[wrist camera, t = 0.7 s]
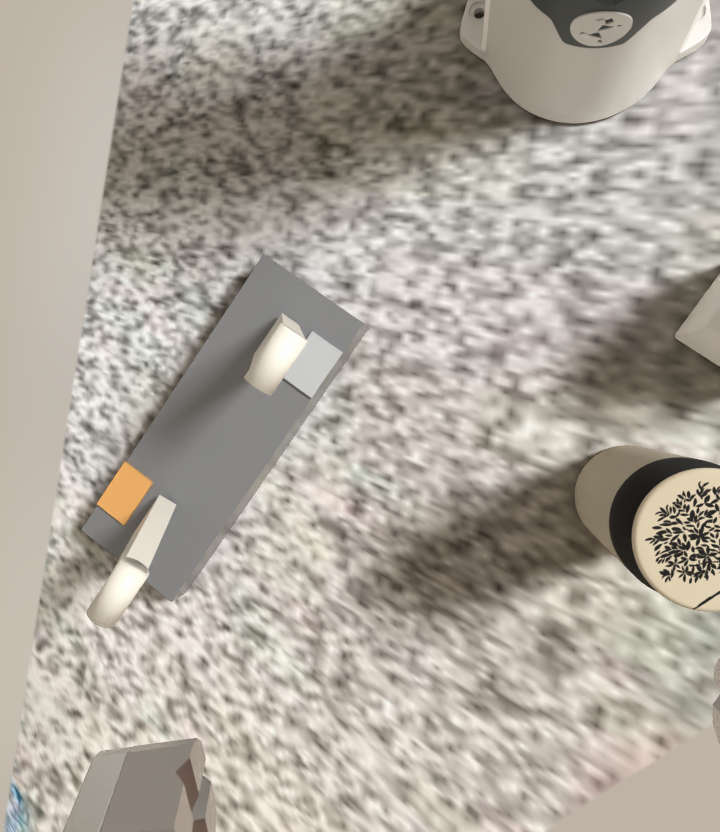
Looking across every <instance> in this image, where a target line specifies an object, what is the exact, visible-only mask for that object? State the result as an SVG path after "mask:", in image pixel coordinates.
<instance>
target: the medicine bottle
mask: <svg viewBox="0 0 720 832" xmlns="http://www.w3.org/2000/svg"><path fill="white" fill-rule="evenodd" d="M675 338H676V339H677V340H679V341H680V342H682V343H683V344H685V345H686V346H688V347H690V348H691V349H693V350H694V351H696V352H697V353H699V354H700V355H702V356H704V357H705V358H707V359H708V360H710V361H711V362H713V363H715V364H716V365H718V366H719V367H720V274H719V275H718V277H717V278H716V279H715V281H714V282H713V283H712V285H711V286H710V287H709V289H708V290H707V291H706V293H705V294H704V296H703V297H702V298H701V300H700V301H699V302H698V304H697V305H696V306H695V308H694V309H693V311H692V312H691V313H690V315H689V316H688V317H687V319H686V320H685V321H684V323H683V324H682V325H681V327H680V328H679V330H678V331H677V332H676V334H675Z"/></svg>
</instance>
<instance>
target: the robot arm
mask: <svg viewBox="0 0 720 832" xmlns="http://www.w3.org/2000/svg"><path fill="white" fill-rule="evenodd" d="M478 13H482V14H483V15H484V16H483V17H482V18H480V19H477V18H475V15H476V14H478ZM710 30H711V14H710V5H709V0H468V1H467V5H466V8H465V11H464V15H463V18H462V22H461V27H460V40H461V42H462V43H463V44H464V46H465V47H466V48H467V49H469V50H470V51H471V52H472V53H474V54H475V55H477V56H478V57H480V58H481V59H483V60H484V61H485V62H486V63H487V64H488V65H489V67H490V68H491V70H492V71H493V73H494V75H495V77H496V79H497V80H498V82H499V84H500V85H501V87H502V88H503V90H504V91H505V92H506V93H507V94H508V96H509V97H510V98H511V99H512V100H513V101H515V102H516V103H517V104H518V105H519V106H521V107H522V108H524V109H525V110H527V111H528V112H530V113H532V114H534V115H536V116H539V117H541V118H544V119H547V120H551V121H556V122H562V123H586V122H593V121H597V120H601V119H604V118H607V117H610V116H613V115H615V114H617V113H619V112H621V111H623V110H625V109H627V108H628V107H630V106H632V105H633V104H635V103H636V102H637V101H639V100H640V99H641V98H642V97H643V96H645V95H646V94H647V93H648V92H649V91H650V90H651V89H652V87H653V86H654V85H655V84H656V83H657V82H658V80H659V79H660V78H661V76H662V75H663V74H664V73H665V71H666V70H667V69H668V68H669V67H670V66H671V65H672V64H673V63H675V62H676V61H678V60H680V59H682V58H684V57H685V56H687V55H689V54H690V53H692V52H694V51H695V50H697V49H698V48H699V47H700V46H701V45H703V44H704V42H705V41H706V39H707V37H708V35H709V33H710ZM714 681H715V683H716V684H717V685H718V686H719V687H720V659H718V661H717V663H716V665H715V669H714ZM713 725H714V728H715V731H716V735H717V738H718V741H719V743H720V695H719V697H718V698H717V700H716V701H715V702H714V704H713ZM205 759H206V758H205V754H204V751H203V747H202V743H201V741H200V740H199V739H197V738H194V739H186V740H178V741H170V742H163V743H155V744H147V745H139V746H133V747H128V748H121V749H113V750H105V751H100V752H99V753H98V754H97V755H96V756H95V757H94V758H93V760H92V762H91V765H90V767H89V770H88V772H87V774H86V777H85V779H84V782H83V784H82V787H81V789H80V791H79V794H78V796H77V799H76V801H75V804H74V806H73V808H72V811H71V813H70V816H69V818H68V821H67V823H66V825H65V828H64V830H63V832H215V828H216V809H215V800H214V793H213V788H212V784H211V782H210V781H209V780H208V779H207V778H205V777H204V776H203V770H204V765H205Z"/></svg>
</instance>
